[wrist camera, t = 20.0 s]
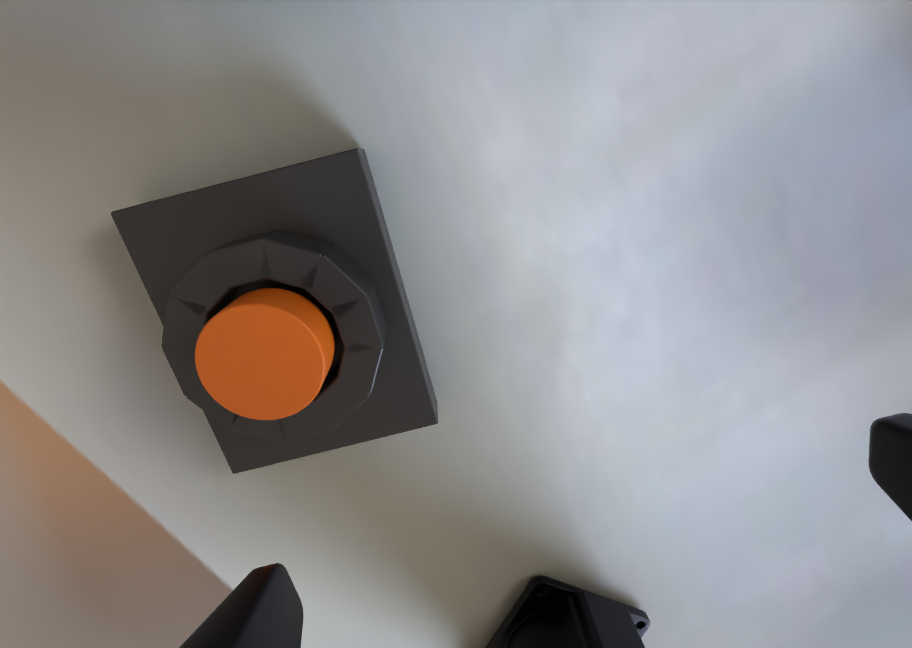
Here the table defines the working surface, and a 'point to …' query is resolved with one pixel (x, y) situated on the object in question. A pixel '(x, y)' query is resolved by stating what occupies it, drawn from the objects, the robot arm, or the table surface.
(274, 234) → the button block
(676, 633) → the table surface
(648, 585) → the table surface
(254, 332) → the button
